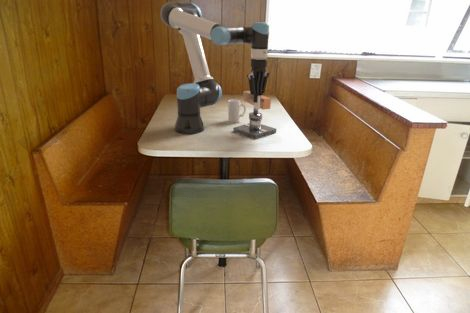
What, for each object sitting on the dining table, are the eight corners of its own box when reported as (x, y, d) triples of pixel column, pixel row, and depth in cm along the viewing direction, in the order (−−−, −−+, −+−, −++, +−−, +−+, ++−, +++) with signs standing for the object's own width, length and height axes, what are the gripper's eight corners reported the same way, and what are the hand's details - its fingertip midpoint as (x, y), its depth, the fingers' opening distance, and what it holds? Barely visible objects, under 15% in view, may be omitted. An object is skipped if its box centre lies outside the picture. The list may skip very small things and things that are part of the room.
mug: (227, 122, 193) (227, 101, 188) (228, 119, 199) (228, 99, 195) (245, 123, 193) (246, 102, 188) (245, 119, 199) (246, 99, 194)
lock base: (233, 131, 179) (233, 118, 176) (254, 125, 189) (254, 113, 187) (255, 139, 168) (256, 125, 166) (276, 132, 179) (277, 119, 176)
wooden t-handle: (260, 124, 166) (261, 99, 162) (240, 114, 183) (241, 91, 178) (271, 122, 169) (273, 98, 165) (251, 113, 186) (252, 90, 181)
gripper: (255, 60, 149) (253, 112, 158) (274, 58, 157) (271, 108, 166) (243, 58, 154) (241, 109, 163) (262, 56, 162) (260, 105, 171)
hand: (256, 108), depth 164 cm, fingers closed
